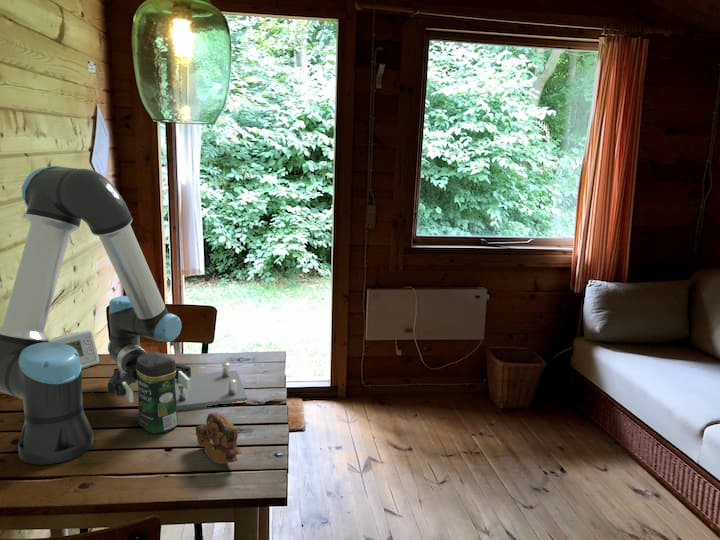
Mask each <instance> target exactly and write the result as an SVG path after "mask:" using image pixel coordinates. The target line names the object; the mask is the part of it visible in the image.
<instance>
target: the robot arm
mask: <svg viewBox="0 0 720 540" xmlns="http://www.w3.org/2000/svg"><path fill="white" fill-rule="evenodd" d="M21 187H22V188H21V196H22V199H23V201H24V204H25V206H26V207H27V208H26V212H25V217H26V219H27V220H28V222H29V224H30V225H29V228H28V232H27V237H26V239H25V242H24V246H23V247H24V248H23V249H22V250H23V251H22V253H21V257H20V261H19V265H18V269H17V272H16V276H15V278H14V283H13V286H12V289H11V293H10V296H9V301H8V304H7V307H6V310H5V315H4V318H3V322H2V324H1V325H0V392H2V393H4V394H6V395H9V396H12V397H15V398H18V399H20V400H22V403H23V413H24V415H23V416H24V422H23V423H24V424H23V427H22V430H21V433H20V435H19V437H20V438H19V440H18V444H17V452H18V458H19V459H20V460H21V461H23V462H24V463H27V464H32V465H40V466H41V465H45V466H46V465H53V464H59V463H64V462H67V461H70V460H72V459H75V458H78V457H80V456H82V455H83V454H85V453H86V452H88V451H89V450H90V449H91V448H92V447H93V445H94V441H95V438H94V431H93V428H92V427H91V424H90V422H89V419H88V417H87V416H86V414H85V411H84V399H83V381H82V369H81V368H82V366H81V362H80V357H79V353H78V352H77V350H76V349H75V348H74V347H72V346H70V345H67V344H64V343H58V342H57V343H52V342H49V339H50V338H49V336H48V334H46V332H45V329H46V325H47V321H48V319H49V314H50V310H51V307H52V302H53V300H54V296H55V292H56V287H57V284H58V280H59V277H60V272H61V269H62V266H63V262H64V258H65V256H66V255H65V254H66V250H67V248H68V247H67V246H68V243H69V238H70V235H71V234H72V233H74V232H75V231H78V230H79V229H80V225H81V222H82V221H83V222H84V223H85V224H86V225H87V226H88V227H89V229H90V230H89V231H90V232H91V234H93V235H94V236H97V237H98V238H99V240H100V241H101V244H102V246H103V248H104V251H105V253H106V255H107V256H108V259H109V261H110V263H111V266H112V267H113V269H114V271H115V274H116V275H117V278H118V280H119V282H120V284H121V286H122V288H123V290H124V291H125V294H126V295H120V296H117V297H114V298H111V299H110V300H109V304H108V305H109V308H108V309H109V310H108V311H109V312H108V315H109V328H110V337H109V338H110V340H109V342H108V345H107V351H108V354H109V356H110V357H111V359H112V360H113V361H114V363H116V364H117V366H118V367H119V368H114V369H113V374H112V375H111V377H110V379H109V380H108V382H107V392H108V393H107V394H113V393H114V392H116V396H117V397H119V396H121V397H123V396H124V397H125V398H126V399H127V401H128V402H129V404H130V403H134V391H133V390H132V389H131V387H130V386H131V384H134V383H136V382H138V379H137V372H136V362H137V359H138V357H139V356H140V355H141V354H143V353H147V351H146V350H145V349H144V348H142V347H141V343H140V341H141V340H140V337H144V338H146V339H152V340H155V341H158V342H166V343H171V342H173V341H174V340H175V339H177V338H178V336H179V335H180V333H181V330H182V321H181V319H180V317H179V316H178V315H176V314H174V313H171V312H169V311H168V309H167V306H166V304H165V302H164V300H163V297H162V295H161V292H160V290H159V288H158V285H157V282H156V281H155V279H154V276H153V274H152V272H151V270H150V268H149V265H148V263H147V260H146V258H145V255H144V254H143V251H142V248H141V247H140V243H139V242H138V239H137V237H136V235H135V232H134V230H133V227H132V225H131V224H132V222H133V217H132V214H131V212H130V210H129V208H128V206H127V204H126V202H125V200H124V199H123V197H122V195H121V194H120V192H119V190H117V188H116V187H115V186H114V184H112V182H111V181H110V180H109V179H108V178H106V177H105V175H103V174H101V173H100V172H97V171H96V170H93V169H90V168H76V167H75V168H73V167H65V166H64V167H63V166H58V165H57V166H55V165H53V166H44V167H43V166H42V167H40V168H37V169H35V170H33V171H32V172H30V173H29V175H28V176H26V178H25V179H24V181H23V184H22V186H21ZM175 364H176V375H175V379H178V381H179V382H180V383H181V384H182V385H183V386H184V387H185V388H186V389H187V390H190V379H189V377H191V375H192V373H191V372H192V371H191V370H192V369H191V368H192V367H190V366H188V365H187V366H186V365H183V364H181V363H180V364H179V363H176V362H175Z"/></svg>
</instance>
